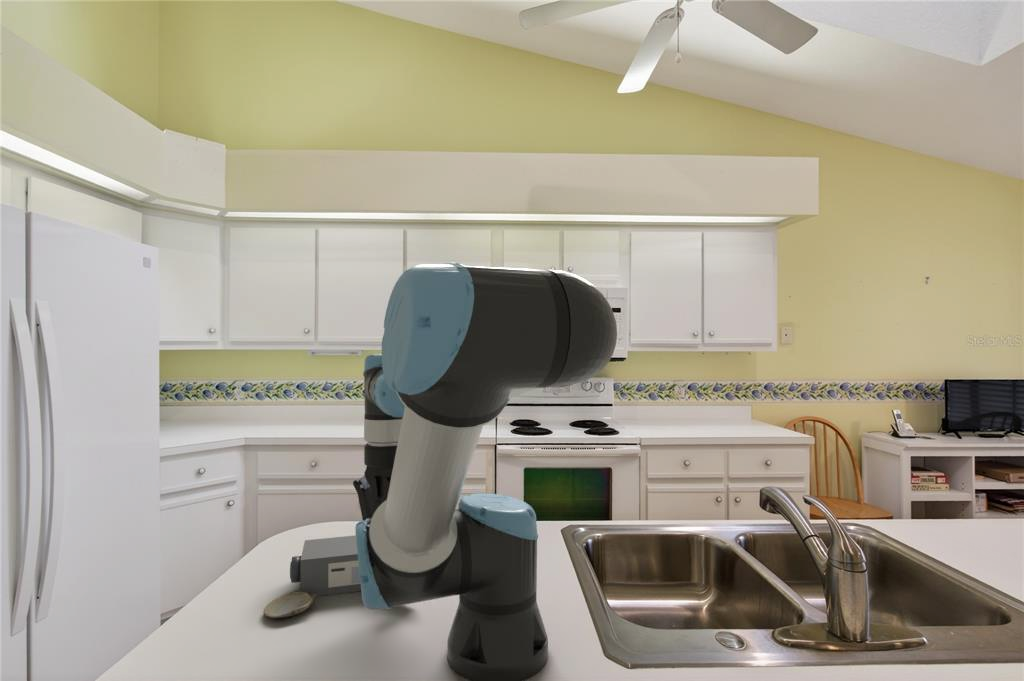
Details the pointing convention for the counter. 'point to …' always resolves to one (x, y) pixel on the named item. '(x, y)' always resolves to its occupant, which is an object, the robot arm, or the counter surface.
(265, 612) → the seashell
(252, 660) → the counter surface
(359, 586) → the camera body
